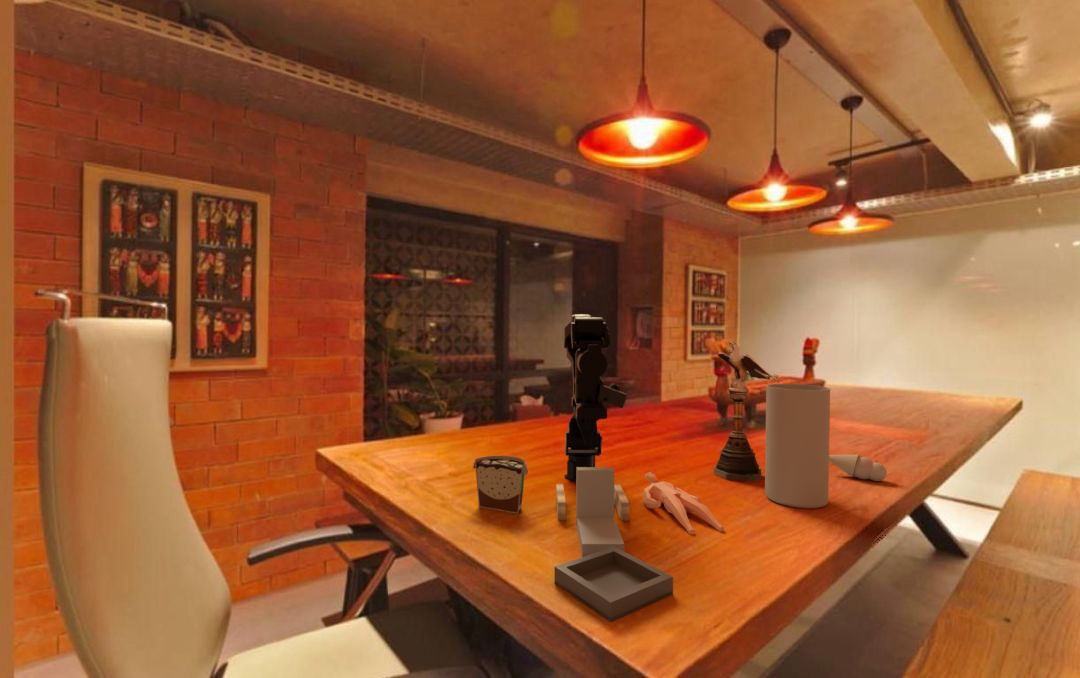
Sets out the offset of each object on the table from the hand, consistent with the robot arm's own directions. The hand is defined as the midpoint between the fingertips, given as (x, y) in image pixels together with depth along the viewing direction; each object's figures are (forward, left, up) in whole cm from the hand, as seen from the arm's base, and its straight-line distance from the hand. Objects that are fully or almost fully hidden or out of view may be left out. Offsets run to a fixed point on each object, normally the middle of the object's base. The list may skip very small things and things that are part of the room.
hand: (587, 444), depth 112 cm
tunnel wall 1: (+9, +2, -12) cm, 15 cm away
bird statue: (-47, +8, -12) cm, 49 cm away
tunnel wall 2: (-1, +9, -12) cm, 15 cm away
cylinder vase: (-38, +27, -12) cm, 48 cm away
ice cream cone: (-67, +26, -12) cm, 72 cm away
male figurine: (-10, +16, -13) cm, 23 cm away
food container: (+17, -6, -12) cm, 22 cm away
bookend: (+12, +18, -12) cm, 25 cm away
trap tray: (+22, +32, -12) cm, 41 cm away
